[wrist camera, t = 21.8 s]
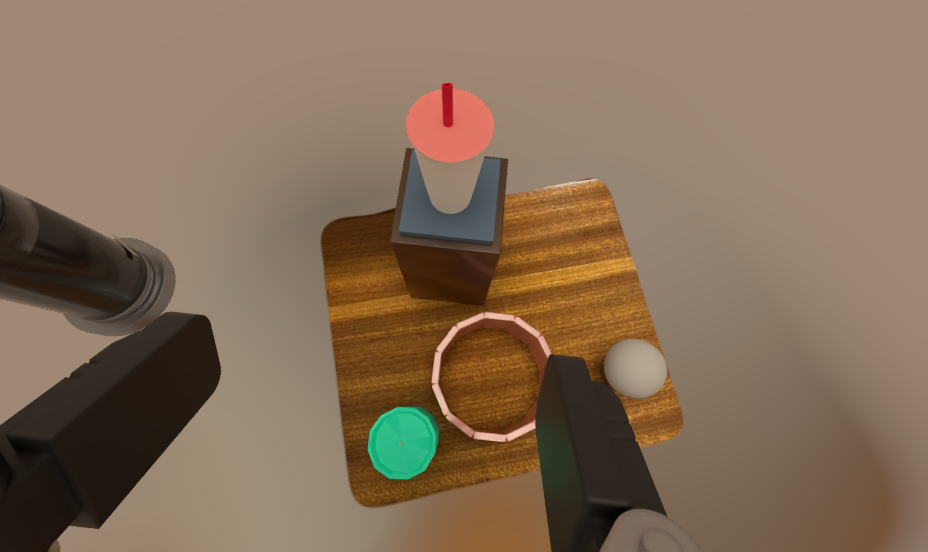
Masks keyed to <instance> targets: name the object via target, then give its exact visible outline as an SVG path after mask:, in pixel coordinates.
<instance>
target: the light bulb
mask: <svg viewBox="0 0 928 552" xmlns="http://www.w3.org/2000/svg"><path fill="white" fill-rule="evenodd" d="M600 373H601V377H602V379H603V380H604V381H605V382H606V383H608V384H610V385H611V386H612V387H613V388H614V389H615V390H616V391H617V392H619V393H620V394H622V395H624V396H627V397H630V398H646V397H649V396H651V395H653V394H655V393H656V392H658V391H659V390H660V389H661V387H662V386H663V384H664V382H665V380H666V376H667V367H666V363H665V360H664V358H663V356H662V354H661V353H660V352H659V350H658V349H657V348H655V347H654V346H653V345H651V344H650V343H648V342H646V341H643V340H638V339H627V340H623V341H620V342H618V343H616V344H615V345H614V346H612V347H611V349H610V350H609V351H608V353H607V354H606V357H605V360H604V364H603V365H602V367H601V370H600Z"/></svg>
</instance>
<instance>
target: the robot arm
mask: <svg viewBox="0 0 928 552" xmlns="http://www.w3.org/2000/svg"><path fill="white" fill-rule="evenodd" d="M113 236H114V235H113ZM114 237H115V238H116V239H117V240H118V241H119V242H120V243H119V242H117V241H115V240H113V239H111V238H109V237H107V236H105V235H103V234H101V233H99V232H97V231H95V230H92V229H91V228H88V227H86V226H84V225H82V224H80V223H78V222H76V221H74V220H72V219H70V218H68V217H66V216H64V215H61V214H60V213H57V212H55V211H53V210H51V209H49V208H47V207H45V206H43V205H41V204H39V203H37V202H35V201H33V200H31V199H28V198H26V197H24V196H22V195H20V194H18V193H16V192H14V191H12V190H10V189H7V188H5V187H3V186H1V185H0V299H3V300H7V301H12V302H16V303H20V304H24V305H29V306H33V307H37V308H41V309H46V310H50V311H55V312H58V313H63V314H66V315H71V316H75V317H79V318H82V319H84V320H88V321H93V322H99V323H106V322H112V321H116V320H119V319H122V318H124V317H126V316H128V315H129V314H131V313H132V312H134V311H135V310H136V309H137V308H138V307H139V306H140V305H141V304H142V303H143V302H144V301H145V299H146V298H147V296H148V294H149V293H150V290H151V288H152V284H153V277H154V276H153V268H152V265H151V263H150V261H149V260H148V258H147V257H146V256H145V255H144V254H143V253H141V252H139V251H137V250H135V249H133V248H131V247H129V246H127V245H126V244H125V243H124V242H122V241H121V240H120V239H119V238H118V237H116V236H114ZM220 375H221V366H220V362H219V357H218V353H217V349H216V345H215V340H214V336H213V332H212V327H211V323H210V321H209V319H208V318H207V317H206V316H204V315H197V314H189V313H180V312H166V313H164V314H162V315H161V316H159V317H158V318H157V319H156V320H154V321H153V322H152V323H150V324H149V325H148V326H146V327H145V328H144V329H142V330H141V331H138V332H135V333H133V334H131V335H129V336H127V337H125V338H123V339H120V340H118V341H116V342H114V343H112V344H110V345H109V346H108V347H106V348H105V349H104V350H102V351H101V352H99V353H98V354H97V355H95V356H94V357H93V358H91V359H90V362H89V363H84V364H83V365H82V366H80V367H79V368H78V369H76V370H75V371H74V372H72V373H71V376H70V377H69V378H67V377H65V378H64V379H63V380H61V381H60V382H59V383H57V384H56V385H55V386H53V387H52V388H51V389H49V390H48V391H46V392H45V393H44V394H42V395H41V396H40V397H38V398H37V399H36V400H34V401H33V402H31V403H30V404H29V405H27V406H26V407H25V408H23V409H22V410H20V411H19V412H18V413H16V414H15V415H14V416H12V417H11V418H9V419H8V420H7V421H6V422H4V423H3V424H1V425H0V552H60V545H59V542H58V541H57V538H58V537H59V536H60V535H61V534H62V533H63V532H64V531H65V530H66V529H67V527H68V526H77V527H86V528H95V529H99V528H100V527H101V526H102V524H103V523H104V522H105V521H106V520H107V519H108V517H109V516H110V515H111V514H112V513H113V511H114V510H115V509H116V508H117V507H118V505H119V504H120V503H121V502H122V501H123V500H124V498H125V497H126V496H127V495H128V494H129V492H130V491H131V490H132V489H133V488H134V487H135V485H136V484H137V483H138V482H139V481H140V479H141V478H142V477H143V476H144V475H145V473H146V472H147V471H148V470H149V469H150V467H151V466H152V465H153V464H154V463H155V462H156V460H157V459H158V458H159V457H160V456H161V454H162V453H163V452H164V451H165V450H166V449H167V447H168V446H169V445H170V444H171V443H172V441H173V440H174V439H175V438H176V437H177V436H178V434H179V433H180V432H181V431H182V430H183V428H184V427H185V426H186V425H187V423H188V422H189V421H190V420H191V419H192V418H193V417H194V415H195V414H196V413H197V412H198V411H199V409H200V408H201V407H202V406H203V405H204V403H205V402H206V401H207V400H208V399H209V398H210V396H211V395H212V394H213V393H214V391H215V389H216V387H217V385H218V383H219V379H220ZM535 429H536V437H537V445H538V452H539V460H540V467H541V475H542V482H543V490H544V498H545V505H546V513H547V521H548V528H549V536H550V543H551V550H552V552H702V550H701V549H700V547H699V546H698V544H697V543H696V541H695V540H694V539H693V538H692V537H691V536H690V535H689V534H688V532H687V531H685V530H684V529H683V528H682V527H681V526H680V525H678V524H677V523H676V522H674V521H673V520H671V519H670V518H668V516H667V514H666V512H665V510H664V508H663V505H662V502H661V500H660V497H659V495H658V492H657V490H656V488H655V485H654V482H653V480H652V477H651V475H650V472H649V470H648V467H647V465H646V462H645V460H644V457H643V455H642V452H641V450H640V447H639V445H638V442H636V441H635V438H636V437H635V435H634V432H633V430H632V427H631V425H630V424H629V420H628V417H627V415H626V412H625V410H624V407H623V405H622V402H621V400H620V399H619V398H618V397H617V396H616V394H615V393H614V392H613V391H612V390H611V389H610V388H609V387H608V385H607V384H606V383H604V382H595V381H591V378H590V375H589V372H588V369H587V366H586V363H585V361H584V359H583V358H581V357H572V356H563V355H554V354H550V355H549V357H548V359H547V362H546V367H545V371H544V375H543V379H542V383H541V387H540V391H539V396H538V400H537V405H536V413H535Z"/></svg>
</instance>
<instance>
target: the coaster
mask: <svg viewBox="0 0 928 552" xmlns="http://www.w3.org/2000/svg"><path fill="white" fill-rule="evenodd" d="M500 163H501V160H500V159H492V158H484V159H483V162H482V165H481V169H480V172H479V175H478V178H477V182H476V185H475V188H474V191H473V194H472V197H471V200H470V203H469V205H468V206H467V207H466V208H465V209H464V210H463V211H461V212H459V213H455V214H446V213H442V212H440V211H438V210H437V209H436V208H435V207H434V206H433V205H432V203H431V200H430V197H429V194H428V192H427V188H426V185H425V182H424V179H423V176H422V172H421V169H420V166H419V163H418V159H417V156H416V153H415V150H412V154H411V160H410V166H409V172H408V178H407V184H406V190H405V196H404V202H403V208H402V214H401V219H400V225H399V234H400V235H405V236H414V237H423V238H433V239H442V240H451V241H460V242H469V243H478V244H488V245H493V241H494V229H495V218H496V207H497V196H498V185H499V174H500Z"/></svg>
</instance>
